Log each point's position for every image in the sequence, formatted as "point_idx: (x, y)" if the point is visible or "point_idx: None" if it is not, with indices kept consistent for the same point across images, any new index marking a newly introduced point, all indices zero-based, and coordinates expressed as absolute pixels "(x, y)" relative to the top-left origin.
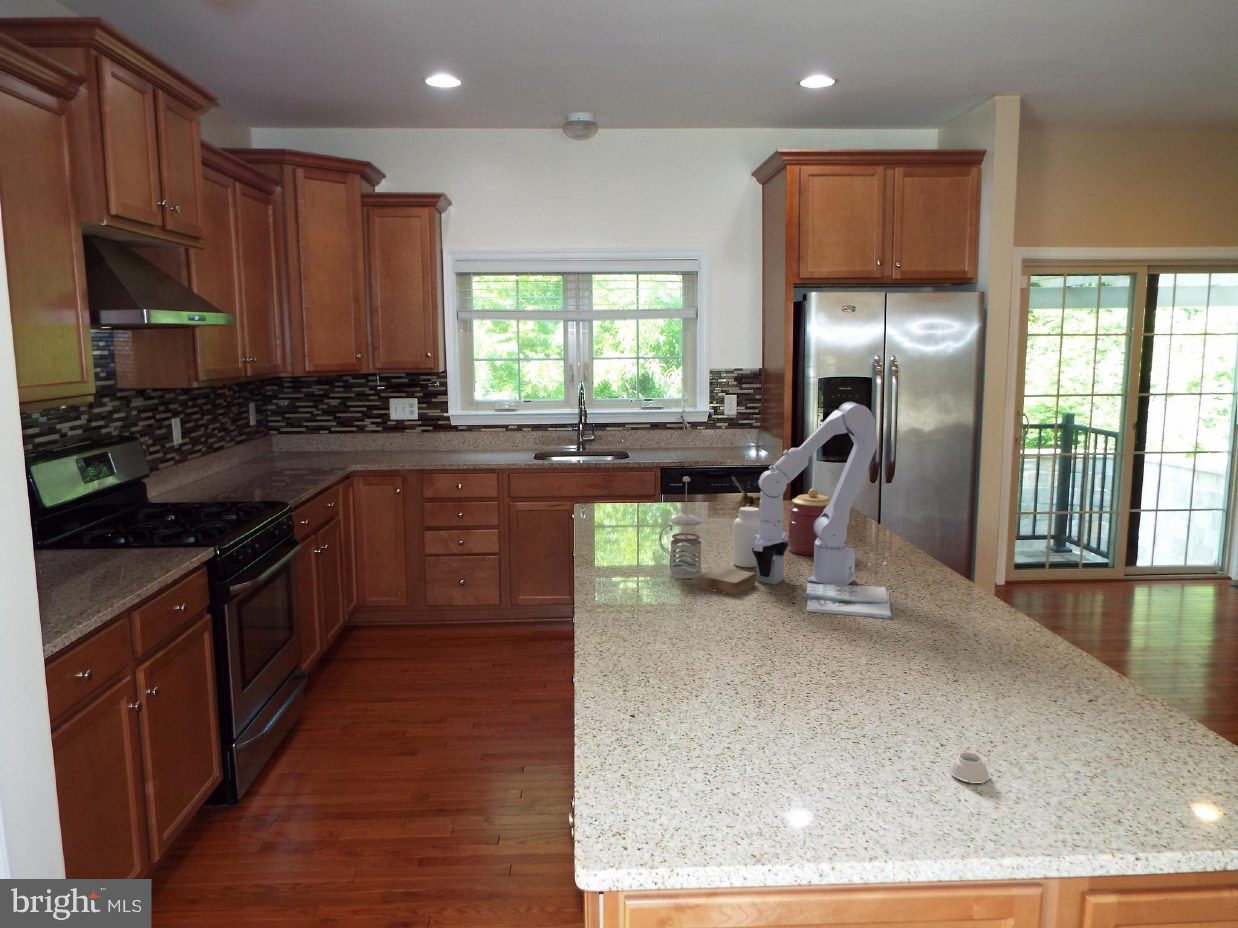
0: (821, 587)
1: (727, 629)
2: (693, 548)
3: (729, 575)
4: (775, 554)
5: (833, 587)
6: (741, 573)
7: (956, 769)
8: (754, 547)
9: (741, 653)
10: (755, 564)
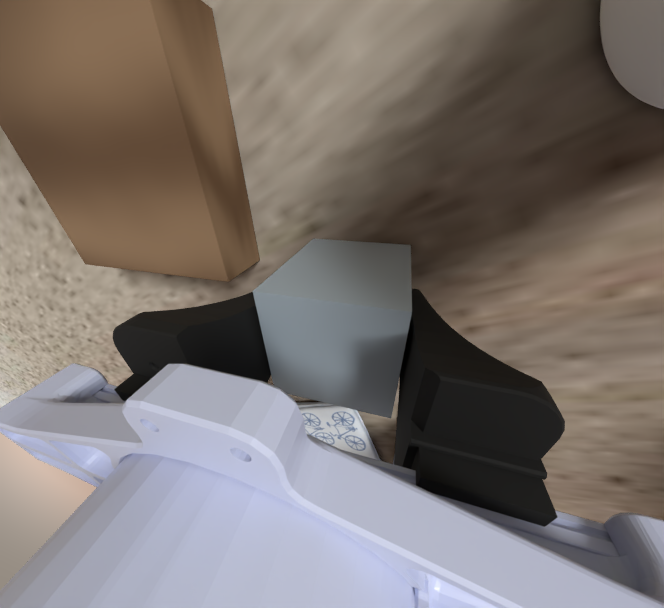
0: (335, 431)
1: (27, 315)
2: None
3: (104, 188)
4: (403, 377)
5: (348, 451)
6: (173, 226)
7: None
8: (48, 386)
9: (22, 354)
10: (636, 85)
